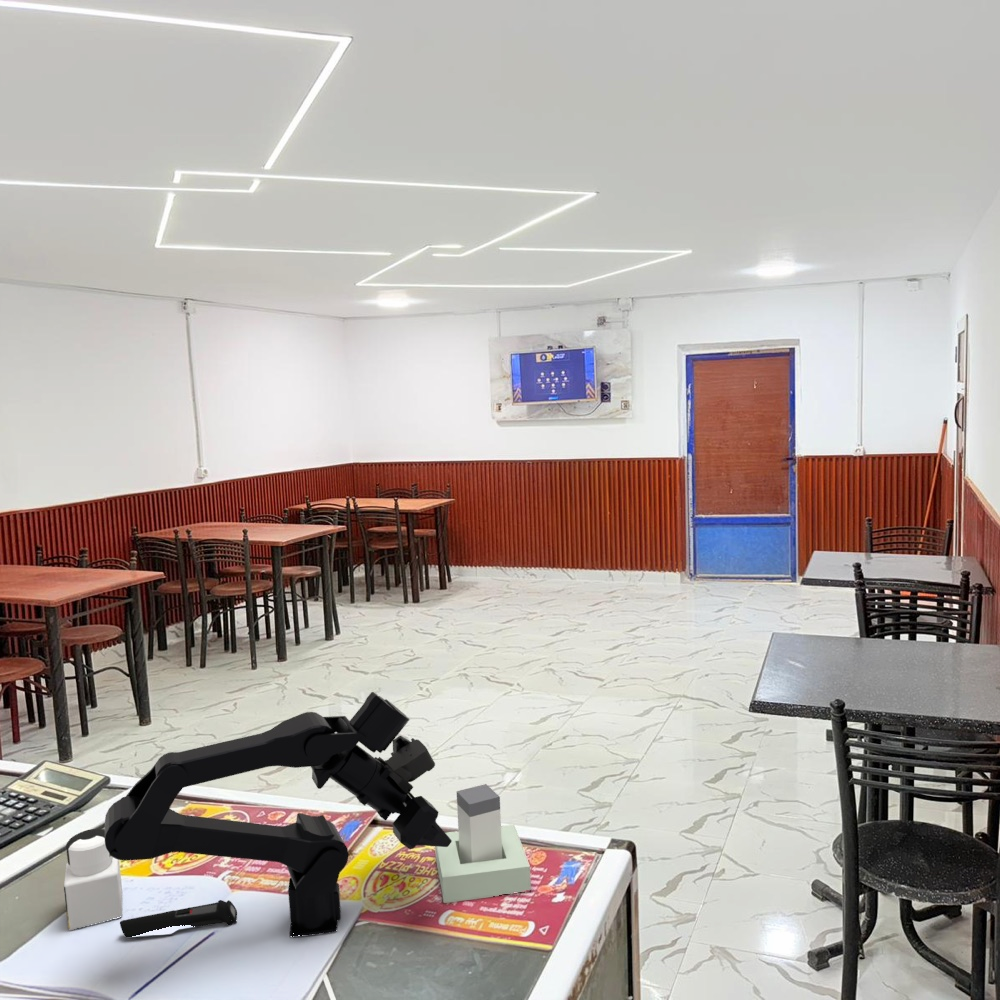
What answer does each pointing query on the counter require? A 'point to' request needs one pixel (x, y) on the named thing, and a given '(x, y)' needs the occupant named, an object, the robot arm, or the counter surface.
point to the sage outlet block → (483, 870)
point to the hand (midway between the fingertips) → (437, 829)
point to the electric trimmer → (182, 918)
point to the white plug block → (479, 824)
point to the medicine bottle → (91, 881)
